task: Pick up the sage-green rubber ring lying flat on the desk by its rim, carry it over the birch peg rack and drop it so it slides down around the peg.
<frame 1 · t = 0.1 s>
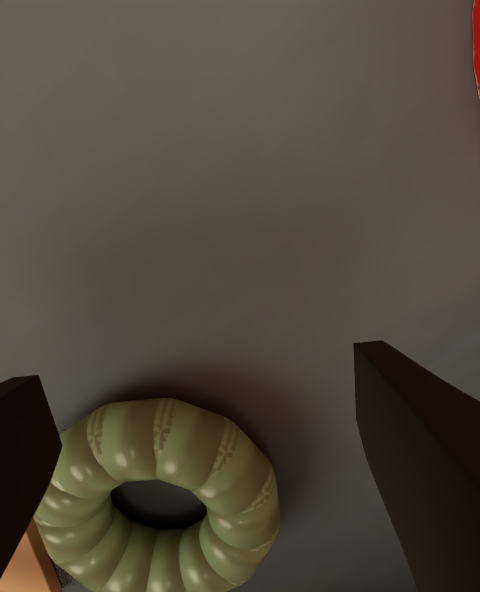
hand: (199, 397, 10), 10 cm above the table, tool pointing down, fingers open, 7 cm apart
ring: (158, 507, 23), point 2 cm above the table
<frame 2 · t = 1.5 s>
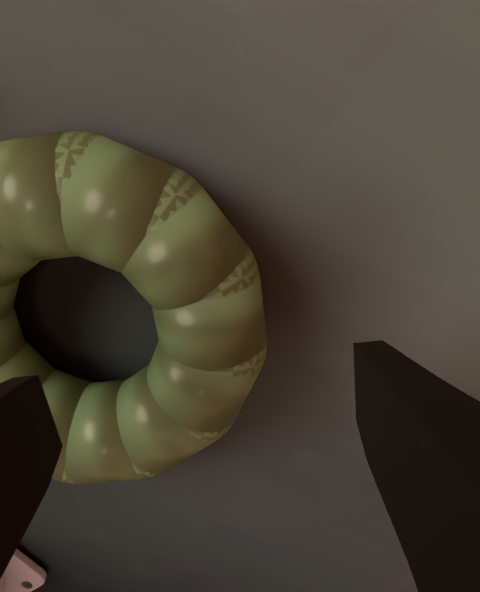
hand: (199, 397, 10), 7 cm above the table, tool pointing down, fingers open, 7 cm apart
ring: (84, 326, 15), point 2 cm above the table
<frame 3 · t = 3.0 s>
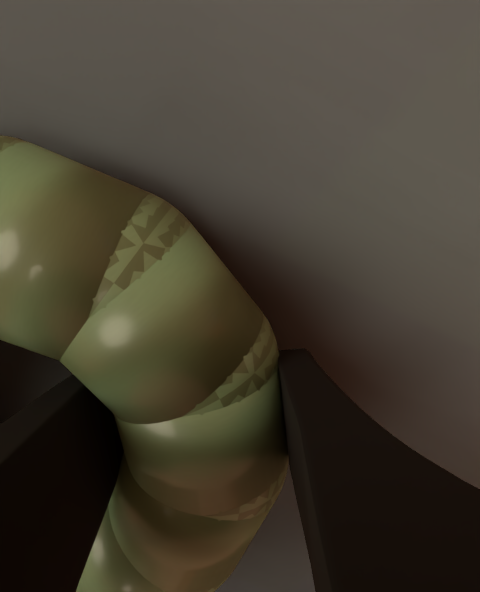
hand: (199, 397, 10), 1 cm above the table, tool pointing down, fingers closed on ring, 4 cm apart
ring: (14, 426, 10), point 2 cm above the table, touching gripper
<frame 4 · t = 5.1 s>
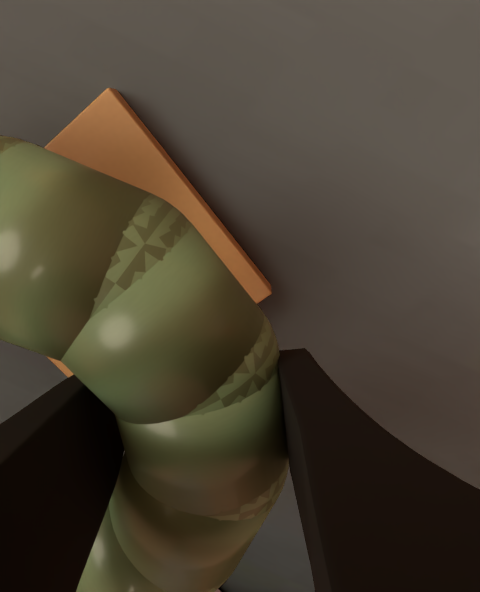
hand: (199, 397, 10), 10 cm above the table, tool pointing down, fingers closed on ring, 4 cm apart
ring: (15, 426, 10), point 10 cm above the table, touching gripper
rack: (112, 264, 19), on the table
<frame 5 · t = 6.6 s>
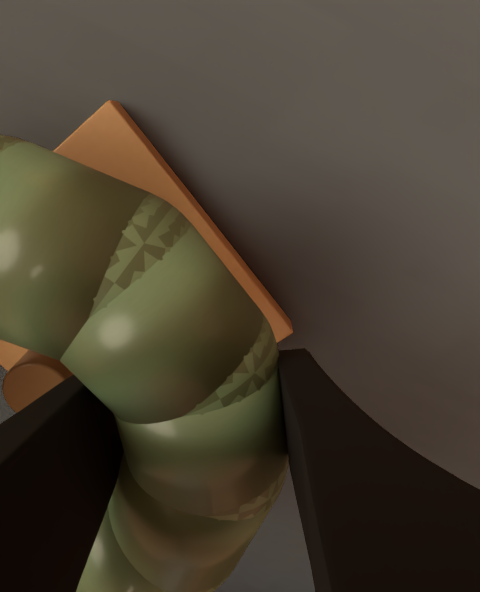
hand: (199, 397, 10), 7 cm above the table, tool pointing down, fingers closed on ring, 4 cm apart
ring: (13, 426, 10), point 8 cm above the table, touching gripper
rack: (111, 297, 17), on the table
when the fingers open (5 cm above the table, at t = 7.8 s): ring drops 2 cm, resting on rack.
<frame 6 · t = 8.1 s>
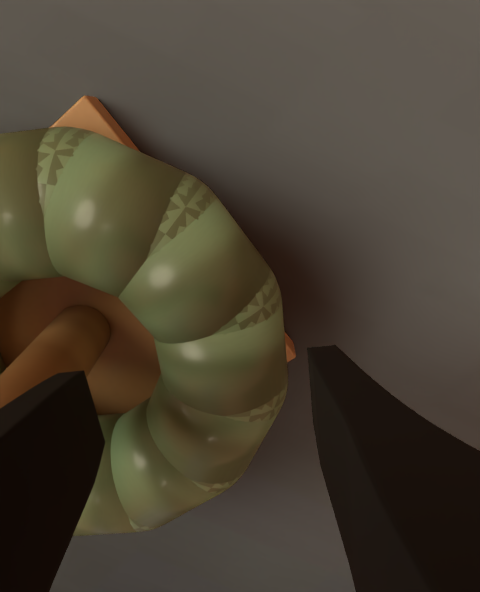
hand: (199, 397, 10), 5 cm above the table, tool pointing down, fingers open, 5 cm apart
ring: (73, 356, 13), point 3 cm above the table, touching rack
rack: (93, 316, 15), on the table
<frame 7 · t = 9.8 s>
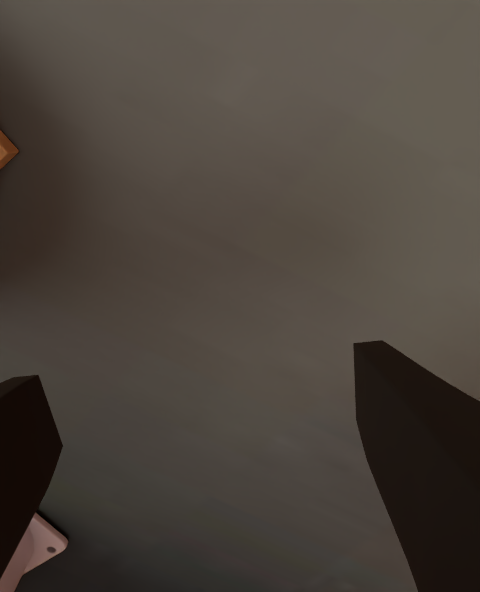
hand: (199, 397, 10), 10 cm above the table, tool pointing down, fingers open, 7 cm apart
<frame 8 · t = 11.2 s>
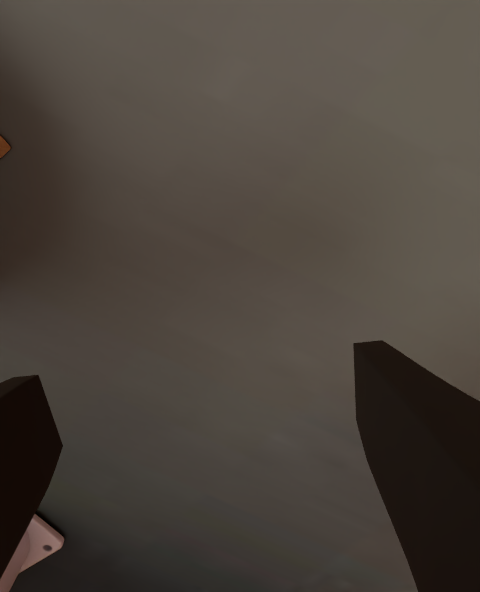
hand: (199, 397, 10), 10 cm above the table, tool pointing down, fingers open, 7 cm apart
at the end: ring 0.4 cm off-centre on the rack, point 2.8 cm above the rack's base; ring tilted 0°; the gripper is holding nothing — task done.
